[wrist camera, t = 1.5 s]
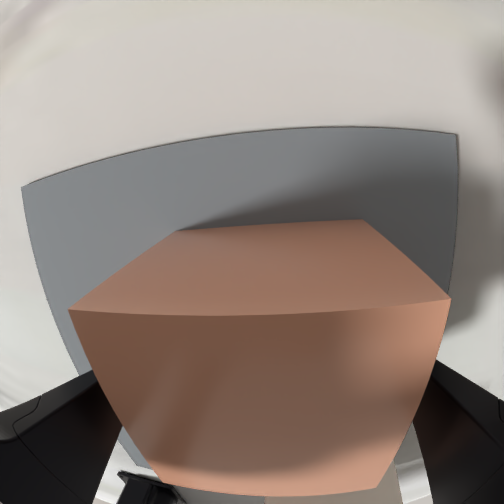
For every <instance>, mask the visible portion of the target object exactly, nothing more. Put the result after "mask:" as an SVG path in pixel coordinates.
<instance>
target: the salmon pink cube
mask: <svg viewBox="0 0 504 504" xmlns="http://www.w3.org/2000/svg"><path fill="white" fill-rule="evenodd" d="M450 303H451V298H450V297H449V296H448V295H447V294H446V293H445V292H444V291H443V290H442V289H441V288H440V287H439V286H438V285H437V284H436V283H435V282H434V281H433V280H432V279H431V278H430V277H429V276H428V275H427V274H425V273H424V272H423V271H422V270H421V269H420V268H419V267H418V266H417V265H416V264H415V263H413V262H412V261H411V260H410V259H409V258H408V257H407V256H406V255H405V254H403V253H402V252H401V251H400V250H399V249H398V248H397V247H395V246H394V245H393V244H392V243H391V242H390V241H388V240H387V239H386V238H385V237H384V236H382V235H381V234H380V233H379V232H378V231H376V230H375V229H374V228H373V227H372V226H370V225H369V224H368V223H367V222H365V221H364V220H363V219H356V220H333V221H313V222H295V223H278V224H262V225H247V226H233V227H219V228H207V229H194V230H182V231H174V232H173V233H172V234H170V235H169V236H167V237H166V238H164V239H163V240H161V241H160V242H158V243H157V244H155V245H154V246H152V247H151V248H150V249H148V250H147V251H145V252H144V253H142V254H141V255H140V256H138V257H137V258H135V259H134V260H132V261H131V262H130V263H128V264H127V265H125V266H124V267H123V268H121V269H120V270H119V271H117V272H116V273H114V274H113V275H112V276H110V277H109V278H108V279H106V280H105V281H104V282H102V283H101V284H100V285H98V286H97V287H96V288H94V289H93V290H92V291H90V292H89V293H88V294H86V295H85V296H84V297H82V298H81V299H80V300H79V301H77V302H76V303H75V304H73V305H72V306H71V307H70V308H68V312H69V315H70V317H71V320H72V323H73V325H74V328H75V331H76V333H77V336H78V338H79V340H80V343H81V345H82V348H83V350H84V352H85V354H86V357H87V359H88V361H89V363H90V365H91V368H92V370H93V372H94V374H95V376H96V378H97V380H98V382H99V384H100V386H101V388H102V390H103V392H104V394H105V395H106V397H107V399H108V401H109V403H110V405H111V406H112V408H113V410H114V412H115V413H116V415H117V417H118V418H119V420H120V422H121V423H122V425H123V427H124V428H125V430H126V431H127V433H128V435H129V436H130V438H131V439H132V441H133V442H134V444H135V445H136V447H137V448H138V450H139V451H140V453H141V454H142V455H143V457H144V458H145V460H146V461H147V462H148V464H149V465H150V466H151V468H152V469H153V470H154V472H155V473H156V474H157V476H158V477H159V478H160V480H161V481H162V482H163V483H168V484H172V485H177V486H182V487H187V488H192V489H198V490H204V491H211V492H219V493H227V494H237V495H251V496H282V497H283V496H314V495H327V494H338V493H346V492H353V491H360V490H366V489H372V488H376V487H377V486H378V484H379V482H380V481H381V479H382V477H383V476H384V474H385V472H386V471H387V469H388V467H389V466H390V464H391V462H392V460H393V458H394V457H395V455H396V453H397V451H398V449H399V447H400V445H401V443H402V441H403V439H404V437H405V435H406V433H407V431H408V429H409V427H410V425H411V423H412V420H413V418H414V416H415V414H416V411H417V409H418V407H419V404H420V402H421V399H422V397H423V394H424V392H425V389H426V386H427V384H428V381H429V378H430V375H431V372H432V369H433V366H434V363H435V360H436V357H437V354H438V351H439V347H440V344H441V340H442V337H443V333H444V329H445V325H446V321H447V317H448V312H449V308H450Z"/></svg>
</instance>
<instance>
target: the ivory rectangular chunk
mask: <svg viewBox="0 0 504 504" xmlns="http://www.w3.org/2000/svg"><path fill="white" fill-rule="evenodd" d="M264 504H403V502H402V496H401V491H400V486H399V481H398V477H397V472H396V468H395V463H394V459H393V460H392V462H391V464H390V466H389V467H388V469H387V471H386V472H385V474H384V476H383V477H382V479H381V481H380V482H379V484H378V486H377V487H376V488H372V489H366V490H360V491H353V492H346V493H338V494H327V495H314V496H283V497H282V496H265V501H264Z"/></svg>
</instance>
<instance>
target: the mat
mask: <svg viewBox="0 0 504 504" xmlns="http://www.w3.org/2000/svg"><path fill="white" fill-rule="evenodd" d="M21 191H22V198H23V205H24V211H25V216H26V222H27V227H28V232H29V237H30V241H31V245H32V250H33V254H34V257H35V261H36V265H37V269H38V272H39V276H40V279H41V282H42V285H43V289H44V292H45V295H46V298H47V301H48V303H49V306H50V309H51V312H52V315H53V317H54V320H55V322H56V325H57V327H58V330H59V332H60V335H61V337H62V339H63V342H64V344H65V346H66V349H67V351H68V353H69V355H70V357H71V359H72V362H73V364H74V366H75V368H76V370H77V372H78V374H79V376H80V375H82V374H84V373H86V372H88V371H90V370H92V368H91V365H90V363H89V361H88V359H87V357H86V354H85V352H84V350H83V348H82V345H81V343H80V340H79V338H78V336H77V333H76V331H75V328H74V325H73V323H72V320H71V317H70V315H69V312H68V308H70V307H71V306H72V305H73V304H75V303H76V302H77V301H79V300H80V299H81V298H82V297H84V296H85V295H86V294H88V293H89V292H90V291H92V290H93V289H94V288H96V287H97V286H98V285H100V284H101V283H102V282H104V281H105V280H106V279H108V278H109V277H110V276H112V275H113V274H114V273H116V272H117V271H119V270H120V269H121V268H123V267H124V266H125V265H127V264H128V263H130V262H131V261H132V260H134V259H135V258H137V257H138V256H140V255H141V254H142V253H144V252H145V251H147V250H148V249H150V248H151V247H152V246H154V245H155V244H157V243H158V242H160V241H161V240H163V239H164V238H166V237H167V236H169V235H170V234H172V233H173V232H174V231H182V230H194V229H207V228H219V227H233V226H247V225H262V224H278V223H295V222H313V221H333V220H356V219H363V220H364V221H365V222H367V223H368V224H369V225H370V226H372V227H373V228H374V229H375V230H376V231H378V232H379V233H380V234H381V235H382V236H384V237H385V238H386V239H387V240H388V241H390V242H391V243H392V244H393V245H394V246H395V247H397V248H398V249H399V250H400V251H401V252H402V253H403V254H405V255H406V256H407V257H408V258H409V259H410V260H411V261H412V262H413V263H415V264H416V265H417V266H418V267H419V268H420V269H421V270H422V271H423V272H424V273H425V274H427V275H428V276H429V277H430V278H431V279H432V280H433V281H434V282H435V283H436V284H437V285H438V286H439V287H440V288H441V289H442V290H443V291H444V292H445V293H446V294H447V295H448V289H449V283H450V277H451V271H452V264H453V256H454V247H455V237H456V224H457V205H458V165H457V146H456V135H455V134H447V133H439V132H429V131H419V130H406V129H389V128H356V127H337V128H303V129H286V130H272V131H261V132H251V133H241V134H233V135H225V136H218V137H211V138H204V139H198V140H192V141H186V142H180V143H175V144H169V145H164V146H159V147H155V148H150V149H145V150H141V151H137V152H132V153H128V154H124V155H120V156H116V157H112V158H108V159H105V160H101V161H97V162H94V163H90V164H87V165H84V166H80V167H77V168H74V169H71V170H68V171H65V172H62V173H59V174H56V175H53V176H50V177H47V178H44V179H41V180H39V181H36V182H33V183H31V184H28V185H26V186H23V187H21ZM118 441H119V442H120V444H121V445H122V446H123V448H124V449H125V450H126V452H127V453H128V455H129V456H130V457H131V459H132V460H133V461H134V462H135V464H136V465H137V466H141V467H144V468H148V469H152V468H151V466H150V465H149V464H148V462H147V461H146V460H145V458H144V457H143V455H142V454H141V453H140V451H139V450H138V448H137V447H136V445H135V444H134V442H133V441H132V439H131V438H130V436H129V435H128V433H127V431H126V430H125V428H124V427H122V429H121V431H120V434H119V436H118ZM152 470H153V469H152Z"/></svg>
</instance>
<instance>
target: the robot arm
mask: <svg viewBox="0 0 504 504" xmlns="http://www.w3.org/2000/svg"><path fill="white" fill-rule="evenodd" d="M412 421H413V424H414V428H415V431H416V434H417V438H418V441H419V445H420V449H421V452H422V456H423V460H424V464H425V468H426V472H427V476H428V481H429V485H430V490H431V494H432V499H433V504H504V401H503V400H501V399H498V397H496V396H494V395H493V394H491V393H490V392H488V391H486V390H485V389H483V388H482V387H480V386H478V385H477V384H475V383H473V382H472V381H470V380H469V379H467V378H465V377H464V376H462V375H461V374H459V373H457V372H456V371H454V370H452V369H451V368H449V367H448V366H446V365H444V364H443V363H441V362H439V361H438V360H435V363H434V366H433V369H432V372H431V375H430V378H429V381H428V384H427V386H426V389H425V392H424V394H423V397H422V399H421V402H420V404H419V407H418V409H417V411H416V414H415V416H414V418H413V420H412ZM122 427H123V425H122V423H121V422H120V420H119V418H118V417H117V415H116V413H115V412H114V410H113V408H112V406H111V405H110V403H109V401H108V399H107V397H106V395H105V394H104V392H103V390H102V388H101V386H100V384H99V382H98V380H97V378H96V376H95V374H94V372H93V370H90V371H88V372H86V373H84V374H82V375H80V376H78V377H76V378H74V379H72V380H70V381H68V382H66V383H64V384H62V385H60V386H58V387H56V388H54V389H52V390H50V391H48V392H46V393H44V394H42V396H41V395H40V396H38V397H36V398H34V399H32V400H29V401H27V402H25V403H23V404H20V405H18V406H15V407H13V408H10V409H7V410H5V411H2V412H0V504H92V503H93V500H94V498H95V495H96V492H97V489H98V487H99V484H100V481H101V479H102V476H103V474H104V471H105V469H106V466H107V463H108V461H109V458H110V456H111V453H112V451H113V448H114V446H115V444H116V441H117V439H118V436H119V434H120V431H121V429H122ZM117 475H118V476H119V477H120V478H121V479H122V480H123V481H124V483H125V486H124V488H123V490H122V493H121V495H120V497H119V499H118V501H117V503H116V504H186V503H185V502H184V501H183V499H182V498H181V497H180V496H179V495H178V493H177V492H176V491H175V490H174V488H173V487H171V486H169V485H166V484H161V483H157V482H154V481H150V480H146V479H143V478H139V477H136V476H132V475H129V474H126V473H123V472H120V471H119V472H118V474H117Z"/></svg>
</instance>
